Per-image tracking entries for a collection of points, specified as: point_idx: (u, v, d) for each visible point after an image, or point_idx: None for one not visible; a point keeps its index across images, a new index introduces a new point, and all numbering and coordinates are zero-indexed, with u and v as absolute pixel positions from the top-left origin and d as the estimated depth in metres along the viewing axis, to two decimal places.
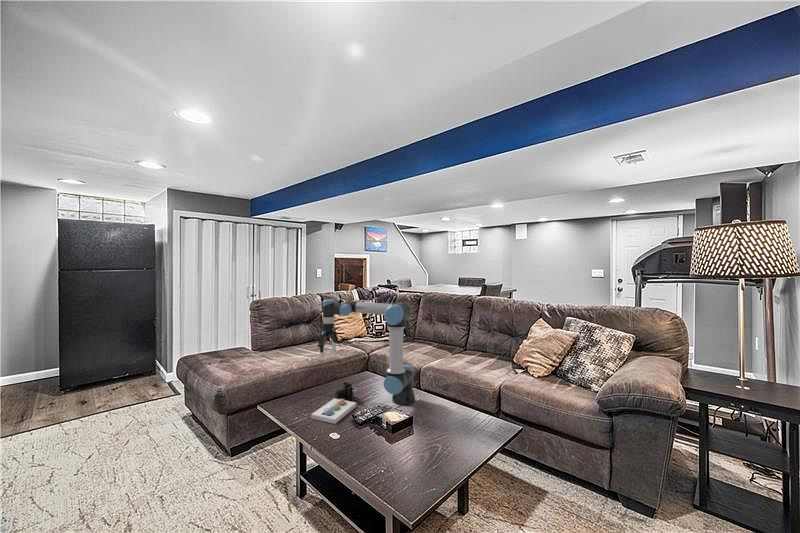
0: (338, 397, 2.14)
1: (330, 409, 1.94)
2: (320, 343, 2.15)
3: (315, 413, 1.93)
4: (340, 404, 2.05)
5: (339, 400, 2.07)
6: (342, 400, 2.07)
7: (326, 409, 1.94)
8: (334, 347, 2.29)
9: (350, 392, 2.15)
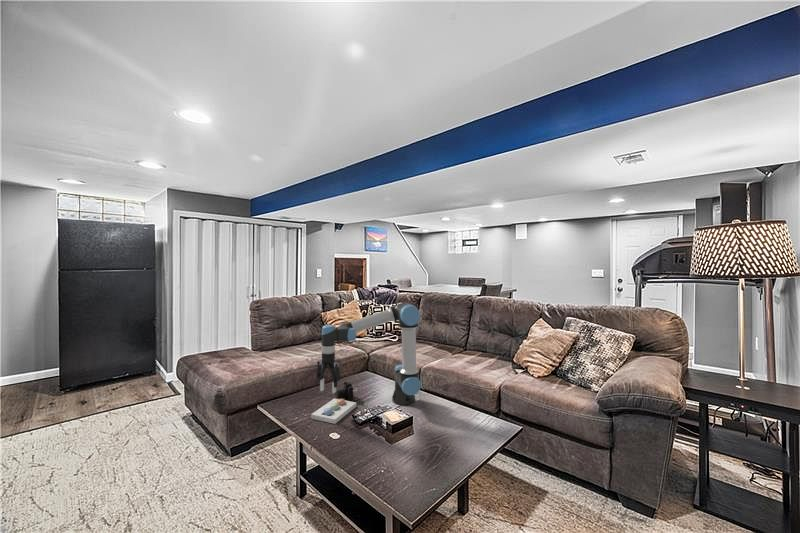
0: (338, 397, 2.14)
1: (330, 409, 1.94)
2: None
3: (315, 413, 1.93)
4: (340, 404, 2.05)
5: (339, 400, 2.07)
6: (342, 400, 2.07)
7: (326, 409, 1.94)
8: None
9: (350, 392, 2.15)
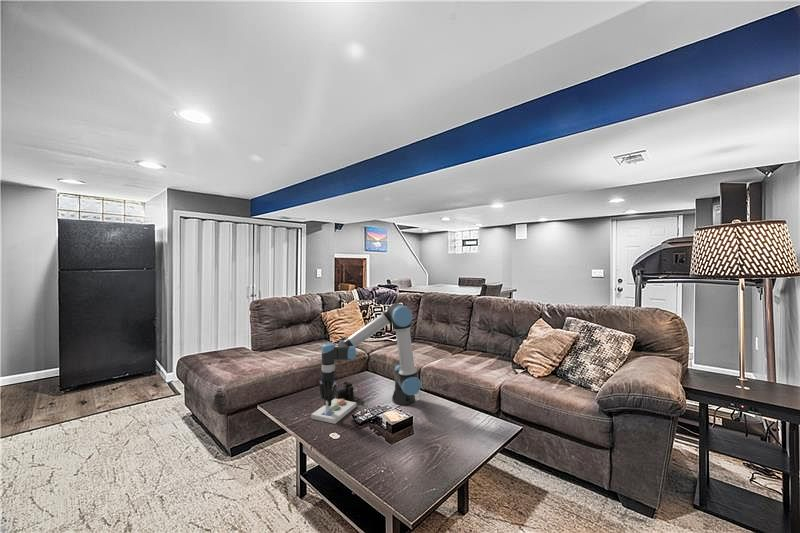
0: (338, 397, 2.14)
1: (330, 411, 1.94)
2: None
3: (315, 413, 1.93)
4: (340, 404, 2.05)
5: (339, 400, 2.07)
6: (342, 400, 2.07)
7: None
8: None
9: (351, 392, 2.15)
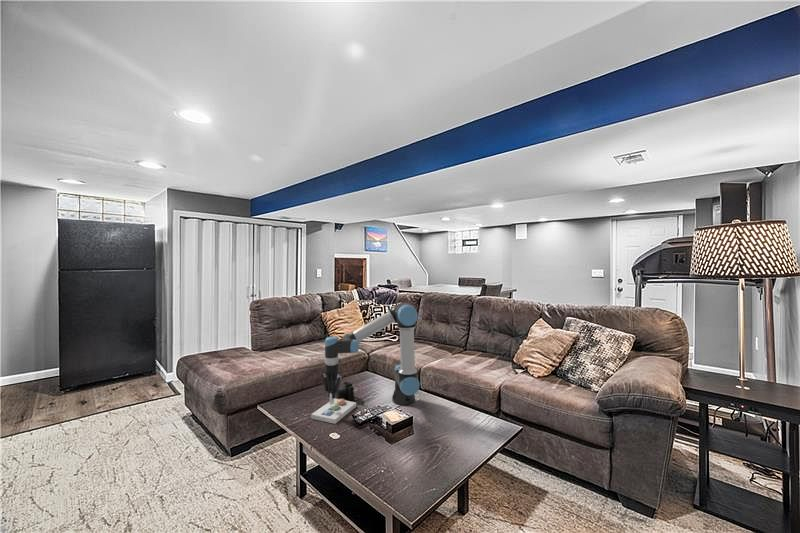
0: (338, 397, 2.14)
1: (330, 411, 1.94)
2: None
3: (315, 413, 1.93)
4: (340, 404, 2.05)
5: (339, 400, 2.07)
6: (342, 400, 2.07)
7: (326, 411, 1.94)
8: None
9: (351, 392, 2.15)
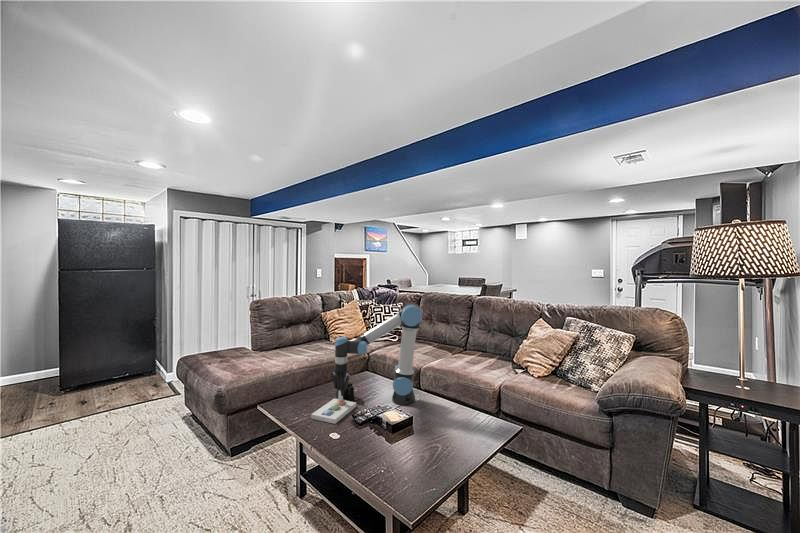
0: None
1: (330, 411, 1.94)
2: None
3: (315, 413, 1.93)
4: (340, 405, 2.05)
5: (339, 401, 2.07)
6: (342, 401, 2.07)
7: (326, 411, 1.94)
8: None
9: (351, 392, 2.15)
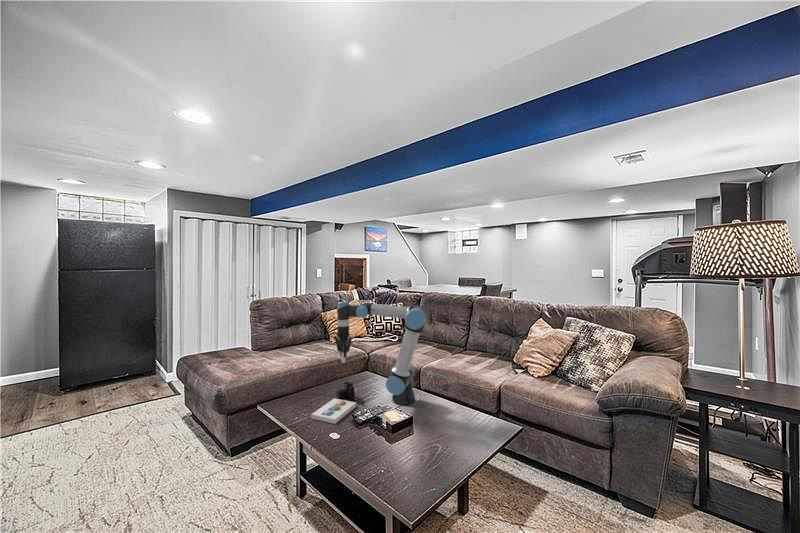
0: (339, 397, 2.15)
1: (330, 411, 1.94)
2: None
3: (315, 413, 1.93)
4: None
5: (339, 402, 2.07)
6: (342, 402, 2.07)
7: (326, 411, 1.94)
8: None
9: (351, 392, 2.15)
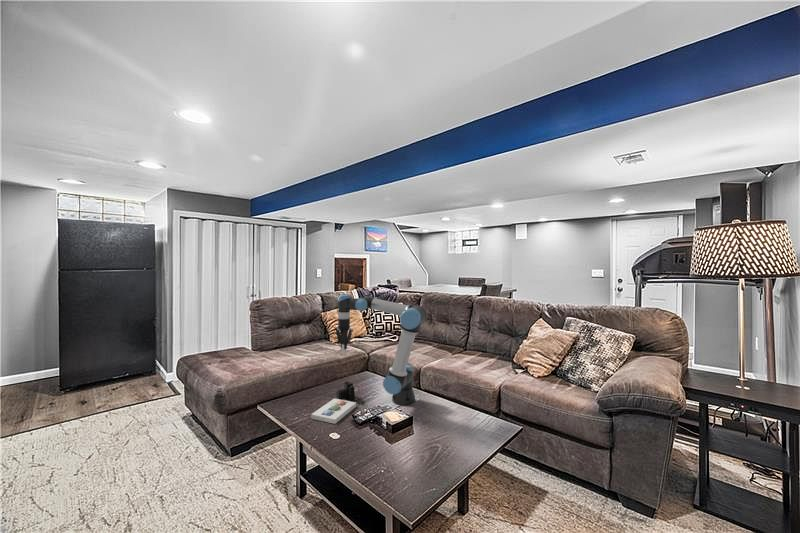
0: (339, 397, 2.15)
1: (330, 411, 1.94)
2: None
3: (315, 413, 1.93)
4: None
5: (339, 402, 2.07)
6: (342, 402, 2.07)
7: (326, 411, 1.94)
8: None
9: (352, 391, 2.16)
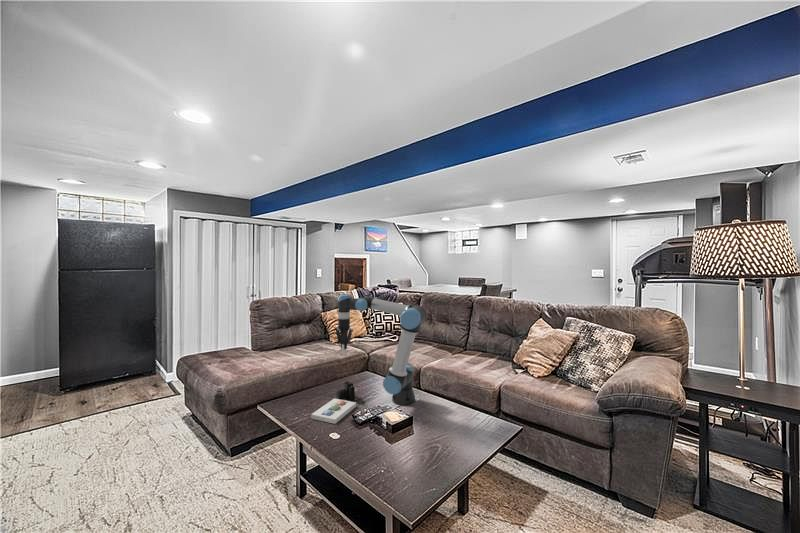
0: (339, 397, 2.15)
1: (330, 411, 1.94)
2: None
3: (315, 413, 1.93)
4: None
5: (339, 402, 2.07)
6: (342, 402, 2.07)
7: (326, 411, 1.94)
8: None
9: (352, 391, 2.16)
